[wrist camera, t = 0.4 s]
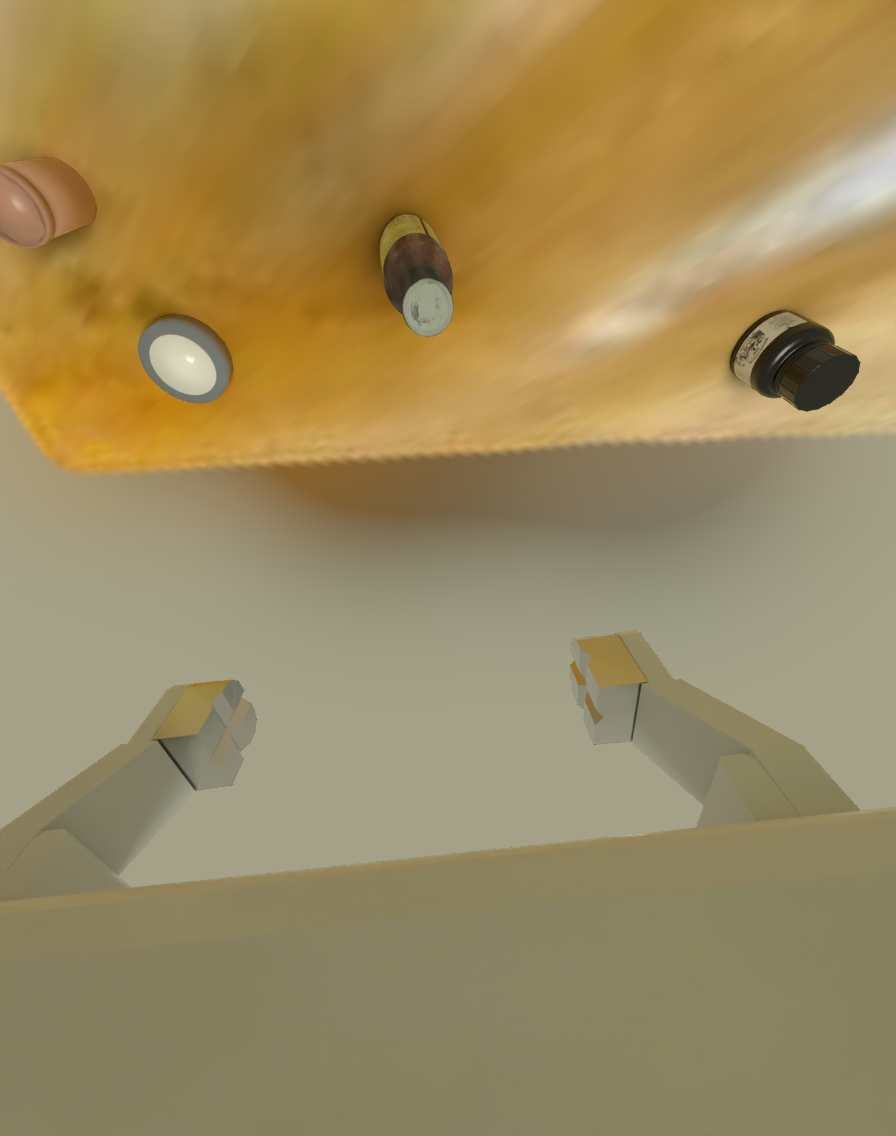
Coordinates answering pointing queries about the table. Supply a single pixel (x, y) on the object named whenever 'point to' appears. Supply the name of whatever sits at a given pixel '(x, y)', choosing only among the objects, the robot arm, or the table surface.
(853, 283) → the table surface
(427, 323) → the sauce bottle
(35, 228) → the tan rounded cylinder
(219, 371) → the pedestal
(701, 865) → the robot arm
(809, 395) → the ink bottle
